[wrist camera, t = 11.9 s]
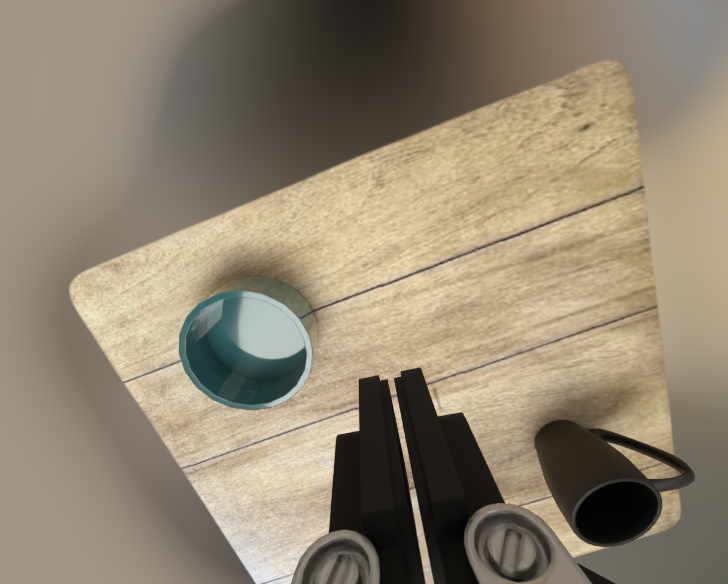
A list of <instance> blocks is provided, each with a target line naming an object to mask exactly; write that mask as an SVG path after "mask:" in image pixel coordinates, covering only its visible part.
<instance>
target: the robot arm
mask: <svg viewBox="0 0 728 584" xmlns="http://www.w3.org/2000/svg"><path fill="white" fill-rule="evenodd" d="M394 381H395V387H396V392H397V397H398V402H399V407H400V412H401V418H402V423H403V428H404V433H405V438H406V443H407V449H408V454H409V459H410V464H411V469H412V474H413V480H414V485H415V490H416V495H417V500H418V505H419V510H420V515H421V521H422V526H423V531H424V536H425V541H426V546H427V551H428V556H429V561H430V566H431V571H432V576H433V581H434V584H615V583H613V582H611V581H609V580H607V579H606V578H604V577H602V576H600V575H598V574H596V573H595V572H593V571H591V570H589V569H587V568H585V567H584V566H582V565H580V564H578V563H576V561H575V560H574V559H573V557H572V556H571V555H570V553H569V552H568V551H567V549H566V548H565V547H564V545H563V544H562V542H561V541H560V540H559V538H558V537H557V536H556V534H555V533H554V532H553V530H552V529H551V528H550V527H549V526H548V525H547V524H546V523H545V522H544V521H543V520H542V519H541V518H540V517H539V516H537V515H536V514H534V513H532V512H531V511H529V510H528V509H525V508H522V507H520V506H517V505H514V504H505V502H504V500H503V498H502V496H501V494H500V491H499V489H498V487H497V485H496V483H495V481H494V478H493V476H492V474H491V472H490V470H489V468H488V465H487V463H486V461H485V459H484V457H483V455H482V453H481V450H480V448H479V446H478V444H477V442H476V440H475V437H474V435H473V433H472V431H471V429H470V427H469V424H468V422H467V420H466V418H465V416H464V414H463V413H462V412H461V413H455V414H450V415H444V416H439V417H438V416H437V413H436V410H435V407H434V405H433V402H432V399H431V396H430V393H429V390H428V387H427V384H426V382H425V379H424V376H423V373H422V370H421V368H416V369H410V370H405V371H401V377H397V378H394ZM359 430H360V431H356V432H351V433H345V434H340V435H337V438H336V447H335V461H334V474H333V487H332V500H331V513H330V526H329V534H326V535H324V536H322V537H320V538H319V539H318V540H317V541H315V542H314V543H313V544H312V545H311V546H309V548H308V549H307V550H306V552H305V553H304V554H303V556H302V557H301V558H300V560H299V563H298V565H297V567H296V570H295V572H294V575H293V579H292V582H291V584H426V582H425V577H424V571H423V565H422V559H421V554H420V548H419V542H418V536H417V531H416V525H415V519H414V513H413V507H412V502H411V496H410V490H409V484H408V479H407V473H406V468H405V462H404V457H403V452H402V447H401V443H400V438H399V433H398V428H397V423H396V418H395V413H394V408H393V403H392V399H391V394H390V389H389V384H388V379H387V380H381V381H380V378H379V375H378V376H373V377H368V378H362V379H359Z"/></svg>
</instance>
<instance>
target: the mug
mask: <svg viewBox="0 0 728 584" xmlns="http://www.w3.org/2000/svg"><path fill="white" fill-rule="evenodd" d="M607 442H608V443H613V444H617V445H620V446H623V447H626V448H629V449H631V450H634V451H637V452H639V453H642V454H644V455H647V456H649V457H651V458H654V459H656V460H658V461H661V462H663V463H665V464H667V465H669V466H671V467H672V468H674V469H676V470H677V471H678V472H680V473H681V474H682V475H680V476H677V477H672V478H665V479H647V478H646V476H645V475H644V474H643V473H642V472H641V471H640V470H639V469H638V468H637V467H636V466H635V465H634V464H633V463H632V462H631V461H630V460H629V459H627V458H626V457H625V456H624V455H623V454H621V453H620V452H619V451H618V450H616V449H615V448H614V447H612V446H611V445H609V444H608V443H607ZM535 448H536V451H537V454H538V457H539V461H540V465H541V469H542V472H543V475H544V478H545V480H546V483H547V485H548V488H549V490H550V492H551V494H552V496H553V498H554V500H555V502H556V504H557V506H558V507H559V509H560V511H561V512H562V514H563V516H564V517H565V519H566V521H567V522H568V524H569V525H570V527H571V529H572V530H573V532H574V533H575V534H576V535H577V536H578V537H579V538H580V539H581V540H583V541H584V542H586V543H588V544H591V545H594V546H601V547H611V546H618V545H622V544H625V543H628V542H631V541H634V540H635V539H637V538H639V537H641V536H642V535H644V534H645V533H646V532H647V531H649V530H650V529H651V528H652V526H653V525H654V524H655V523H656V522H657V520H658V518H659V516H660V514H661V510H662V498H661V495H660V493H659V492H662V491H669V490H674V489H679V488H682V487H685V486H688V485H689V484H691V483H692V482H693V481H694V479H695V475H694V472H693V471H692V470H691V468H690V467H689V466H688V465H687V464H686V463H685V462H683V461H682V460H680V459H679V458H677V457H676V456H674V455H672V454H670V453H667V452H665V451H663V450H660V449H658V448H655V447H653V446H650V445H647V444H645V443H642V442H639V441H636V440H634V439H631V438H628V437H625V436H623V435H620V434H617V433H614V432H611V431H607V430H603V429H588V430H586V429H584V428H582V427H581V426H579V425H578V424H576V423H575V422H572V421H569V420H558V421H554V422H551V423H549V424H547V425H546V426H544V427H543V428H542V429H541V430H540V431H539V433H538V434H537V436H536V439H535Z"/></svg>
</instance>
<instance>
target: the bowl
mask: <svg viewBox="0 0 728 584" xmlns="http://www.w3.org/2000/svg"><path fill="white" fill-rule="evenodd" d="M317 341H318V324H317V320H316V317H315V314H314V311H313V310H312V308H311V306H310V304H309V303H308V301H307V300H306V299H305V298H304V297H303V295H302V294H301V293H299V292H298V291H297V290H296V289H295V288H293V287H292V286H290V285H289V284H287V283H285V282H283V281H280V280H277V279H275V278H271V277H266V276H246V277H241V278H238V279H235V280H232V281H230V282H228V283H226V284H225V285H223V286H221V287H219V288H218V289H217V290H215V291H214V292H213V293H212V294H210V295H209V296H208V297H207V298H205V299H204V300H203V301H201V302H200V303H199V304H198V305H197V306H196V307H195V308H194V309H193V310H192V311H191V313H190V314H189V315H188V316H187V317H186V319H185V322H184V324H183V327H182V329H181V332H180V335H179V355H180V358H181V361H182V364H183V367H184V370H185V372H186V374H187V375H188V376H189V378H190V379H191V380H192V382H193V383H194V384H195V386H196V387H197V388H198V389H199V390H201V391H202V392H203V393H205V394H206V395H207V396H208V397H210V398H211V399H212V400H214V401H217V402H219V403H221V404H224V405H226V406H229V407H232V408H237V409H245V410H258V409H266V408H272V407H274V406H276V405H279V404H281V403H283V402H285V401H287V400H289V399H290V398H291V397H292V396H293V395H295V394H296V393H297V392H298V391H299V390H300V389H301V388H302V387H303V385H304V384H305V382H306V380H307V378H308V376H309V374H310V373H311V369H312V364H313V360H314V356H315V352H316V346H317Z"/></svg>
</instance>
